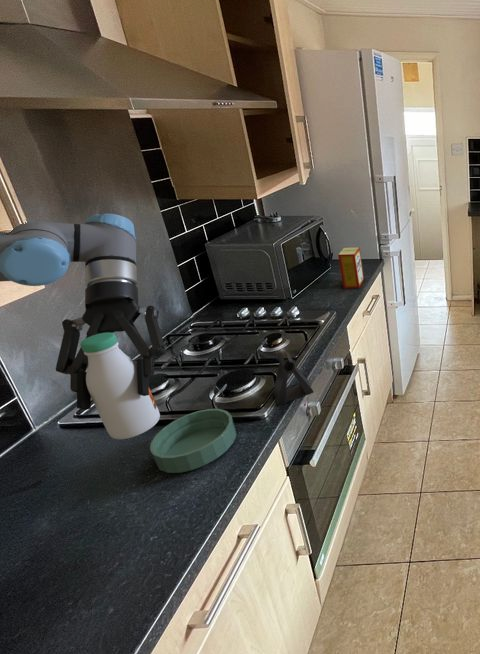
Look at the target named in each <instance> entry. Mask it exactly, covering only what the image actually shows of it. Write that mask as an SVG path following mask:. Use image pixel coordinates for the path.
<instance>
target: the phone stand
mask: <svg viewBox="0 0 480 654" xmlns="http://www.w3.org/2000/svg"><path fill="white" fill-rule="evenodd" d="M284 355H285V356H286V359H285V358H284V356H283V354H282V352H279V354H278V356H277V360H278V368H277V373H276V379H275V384H274V389H273V395H274V398H275V401H276V404H277V406H281V405H284V404H287V403H290V402H292V401H295V400H296V399H301V398H304V397H306V396H309V395H311V394H314V390H313V387H312V386H311V384H310V381H309V380H308V379H307V377H306V376H305V375H304V373H302V371H301V370H300V369H299V367H297V366H296V364H295V361H294V359H293V358H292V356H291V354H290V352H289V351H284ZM289 374H293V375H294V377H295V378H296V380H297V382H298V384H296V385H293V386H290V387H287V385H288V375H289Z"/></svg>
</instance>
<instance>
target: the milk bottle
mask: <svg viewBox="0 0 480 654" xmlns="http://www.w3.org/2000/svg"><path fill="white" fill-rule="evenodd" d="M85 338H86V337H85ZM85 338H84V339H83V340H82V341H80V348H82V350H83V351H84V354H85V355H87V356H88V368H87V370H86V372H87V374H86V384H87V388H88V391H89V393H90V396H91V401H92V403H93V404H94V407H95V409H96V411H97V414H98V415H99V417H100V419H101V422H102V424H103V426H104V428H105V430H106V432H107V434H108V436H109V437H111V438H112V439H114V440H126V439H130V438H135V437H136V436H140V435H142V434H144V433H145V432H147V431H149V430H151V429H152V428H153V427H154V426H156V424H157V423H158V422H159V421H160V418H161V413H160V410H159V408H158V406H157V403H156V401H155V398H154V395H153V394H152V391H151V388H150V387H149V395H147V396H142V395H140V394H138V387H137V361H136V360H134V359H133V358H132V357H130V356H128V354H125V353H124V351H122V350H121V348H120V347H119V344H120V343H119V342H118V338H117V336H116V334H115V332H113V333H100V334H96V335H93V336H90V337H88V338H86V339H85Z"/></svg>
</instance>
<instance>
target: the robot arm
mask: <svg viewBox="0 0 480 654" xmlns="http://www.w3.org/2000/svg"><path fill="white" fill-rule="evenodd" d="M25 220H26V221H27V223H26V222H25V224H24V223H22V224H20V225H19V226H17V227H15V228H14V229H13V230H12V231H11V232H9V233H5V232H4V233H0V282H13V283H15V284H18V285H21V286H27V287H41V286H46V285H50V284H52V283H55V282H56V281H58V280H60V279H61V278H63V276H64V275H65V274H66V273H67V271H68V268H69V267H70V263H71V262H72V263H80V262H81V263H84V268H85V269H84V286H85V290H84V292H85V293H84V308H85V311H84V313H83V314H82V316H81V317H79V318H78V317H77V318H75V319H69V318H66V319H63V320H62V322H61V325H62V329H63V335H62V339H61V344H60V348H59V353H58V356H57V361H56V365H55V371H56V372H58V373H61V374H64V375H70V378H69V379H70V380H69V381H70V383H69V384H70V387H69V388H70V390H71V392H74V393H76V409H79V410H82V411H87V410H91V409H92V398H91V396H90V393H89V391H88V388H87V384H86V374H87V369H88V356H87V355H85V354H84V351H83V350H82V348H81V347H79V350H78V346H79V342H80V338H81V331H82V330H83V329H84V325H85V324H86V325H88V326H89V327H88V329H87V331H86V337H85V338H84V339H86V338H88V337H90V336H93V335H96V334H100V333H121V332H125V334H126V335H127V337H128V338H129V340H130V341H131V343H132V344H133V345H134V347H135V349H136V350H137V352H138V353H139V355H140V357H141V358H138V359H137V358H136V360H135V362H136V363H137V387H138V394H140V395H142V396H147V395H149V388H150V383H149V382H150V381H149V377H152V376H153V377H154V375H155V359H156V358H157V357H159V356H164V355H165V354H166V352H167V350H166V346H165V344H164V340H163V339H164V338H163V336H162V332H161V327H160V324H159V322H158V318H159V313H160V311H159V309H157V308H156V307H155V306H153V305H148V306H147V307H140V305H139V289H138V266H137V237H136V232H135V231H136V230H135V225H134V223H133V222H132V221H131V220H130V219H129V218H128V217H125V216H123V215H119V214H115V213H103V214H99V213H97V214H96V213H95V214H93V215H90V216H89V217H87V218H86V219H85V222H84V223H69V222H57V221H56V222H55V221H46V220H45V221H43V220H32V219H25ZM140 316H141V317H142V318H144V321H145V324H146V328H147V333H148V336H149V340H150V344H151V347H152V349H150V346H148V344H147V343H146V341H145V339H143V337H142V335H141V334H140V332H139V330H138V328H137V327H136V325H135V324H134V323H135V322H136V321H137V319H138V318H139V317H140Z"/></svg>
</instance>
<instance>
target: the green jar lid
mask: <svg viewBox="0 0 480 654" xmlns="http://www.w3.org/2000/svg"><path fill="white" fill-rule="evenodd" d="M236 429H237V428H236V426H235V422H234V419H233V416H232V414H231V413H230V412H229V411H227V410H225V409H221V408H206V409H201V410H197V411H194V412H191V413H188V414H185V415H183V416H181V417H179V418H176V419H175V420H173V421H172V422H170V423H168V424H167V425H165V426H164V427H162V428H161V430H159V431H158V432H157V433H156V434H155V435H154V436H153V439H152V440H151V441H150V445H149V451H150V454H151V456H152V458H153V461H154V463H155V465H156V467H157V468H158V470H160V471H162V472H164V473H167V474H182V473H185V472H190V471H194V470H196V469H199V468H201V467H204V466H206V465H208V464H209V463H211V462H213V461H215V460H217V459H218V458H220V457H221V456H222V455H224V454H225V453H226V452H228V450H229V449H230V448H231V447H232V445H233V444H234V442H235V441H236V438H237V430H236Z"/></svg>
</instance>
